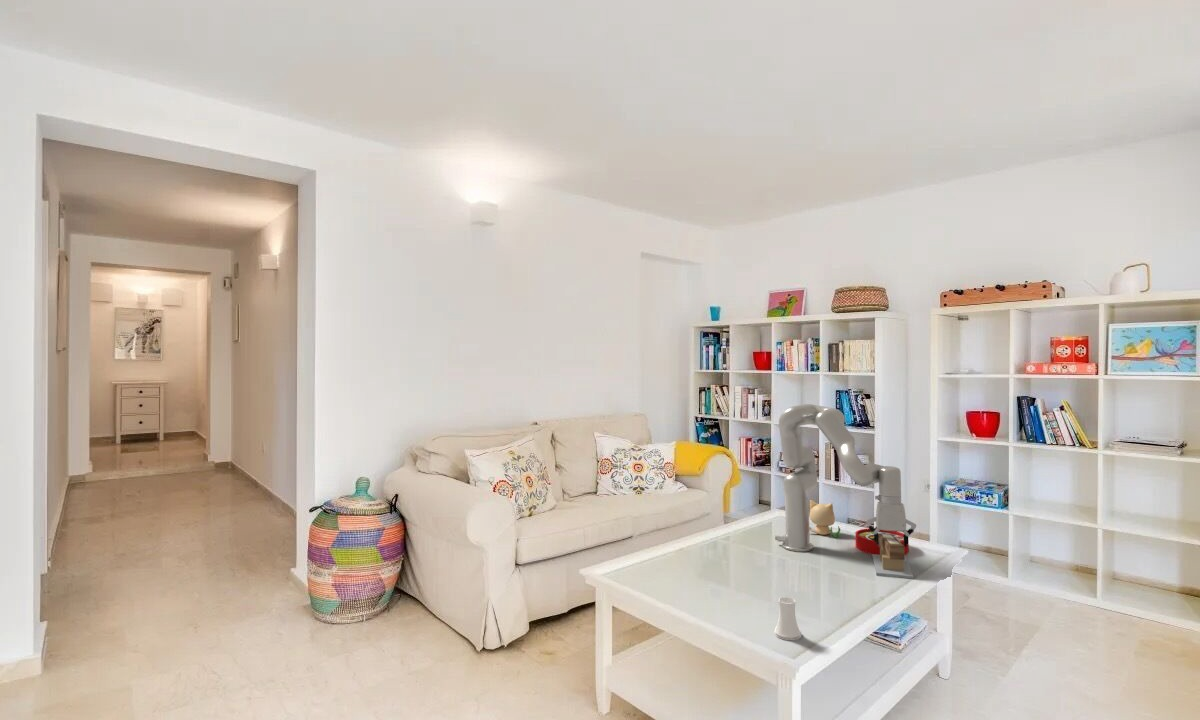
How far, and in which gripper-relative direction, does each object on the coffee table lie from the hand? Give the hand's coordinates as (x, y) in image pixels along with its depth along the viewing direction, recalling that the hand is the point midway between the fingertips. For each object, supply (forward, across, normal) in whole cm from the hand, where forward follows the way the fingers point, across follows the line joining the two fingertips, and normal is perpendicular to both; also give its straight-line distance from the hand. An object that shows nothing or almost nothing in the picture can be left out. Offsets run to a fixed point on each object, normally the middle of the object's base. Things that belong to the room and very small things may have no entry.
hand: (891, 544), depth 231 cm
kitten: (+9, -24, +38) cm, 46 cm away
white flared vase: (+9, -34, -70) cm, 78 cm away
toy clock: (+9, -2, +23) cm, 25 cm away
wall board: (+8, 0, 0) cm, 8 cm away
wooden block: (+3, 0, 0) cm, 3 cm away
